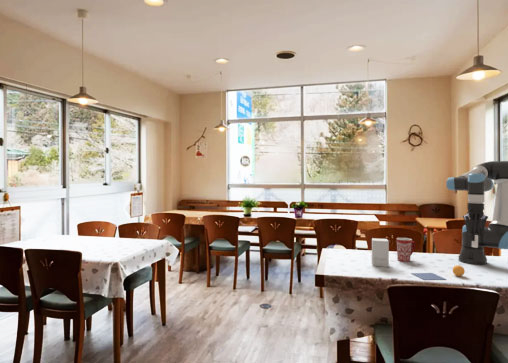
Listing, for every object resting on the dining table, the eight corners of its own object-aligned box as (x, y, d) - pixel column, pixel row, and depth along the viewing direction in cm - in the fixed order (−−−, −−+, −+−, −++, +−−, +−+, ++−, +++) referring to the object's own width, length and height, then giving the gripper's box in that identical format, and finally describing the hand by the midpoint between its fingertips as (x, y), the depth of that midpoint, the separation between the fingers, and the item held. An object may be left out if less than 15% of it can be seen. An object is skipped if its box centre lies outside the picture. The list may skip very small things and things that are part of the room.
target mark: (432, 273, 195) (432, 272, 195) (446, 279, 183) (446, 279, 183) (411, 273, 194) (411, 273, 194) (423, 280, 182) (423, 279, 182)
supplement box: (387, 263, 216) (387, 238, 216) (388, 267, 207) (389, 241, 207) (371, 262, 218) (371, 237, 218) (372, 266, 210) (372, 240, 209)
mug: (402, 262, 219) (402, 240, 219) (392, 259, 228) (393, 237, 228) (419, 261, 223) (420, 239, 222) (409, 258, 231) (410, 237, 231)
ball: (459, 274, 193) (459, 264, 193) (466, 277, 188) (467, 266, 188) (450, 274, 193) (450, 264, 193) (457, 277, 187) (457, 266, 187)
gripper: (481, 202, 195) (480, 245, 196) (459, 202, 194) (458, 245, 194) (492, 203, 188) (491, 248, 188) (469, 203, 186) (468, 248, 187)
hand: (474, 247), depth 191 cm, fingers closed
